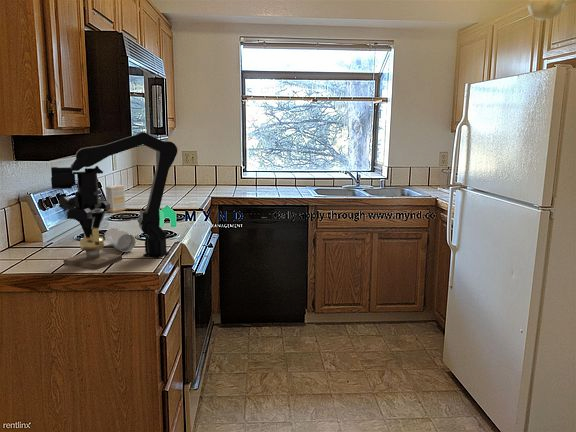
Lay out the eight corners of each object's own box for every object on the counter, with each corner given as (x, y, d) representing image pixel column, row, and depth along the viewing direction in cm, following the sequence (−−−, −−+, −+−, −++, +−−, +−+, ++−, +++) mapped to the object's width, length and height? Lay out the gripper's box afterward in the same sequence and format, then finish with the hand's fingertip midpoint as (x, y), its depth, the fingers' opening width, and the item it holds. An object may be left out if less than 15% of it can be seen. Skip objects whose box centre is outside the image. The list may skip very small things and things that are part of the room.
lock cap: (77, 247, 150) (75, 226, 149) (98, 244, 155) (97, 223, 153) (87, 252, 144) (85, 230, 143) (109, 248, 149) (107, 227, 148)
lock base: (122, 259, 153) (121, 246, 152) (97, 269, 143) (96, 255, 142) (89, 255, 158) (88, 242, 158) (63, 263, 148) (62, 250, 147)
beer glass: (124, 239, 176) (139, 246, 165) (107, 248, 173) (121, 256, 161) (117, 223, 174) (131, 229, 162) (100, 231, 170) (113, 238, 159)
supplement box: (119, 209, 246) (118, 184, 243) (126, 210, 244) (124, 185, 241) (106, 211, 239) (105, 186, 237) (113, 212, 237) (111, 187, 234)
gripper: (76, 184, 156) (80, 229, 158) (47, 191, 137) (51, 242, 140) (109, 184, 155) (112, 229, 158) (84, 191, 137) (88, 242, 140)
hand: (91, 235), depth 149 cm, fingers closed on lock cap, 4 cm apart
